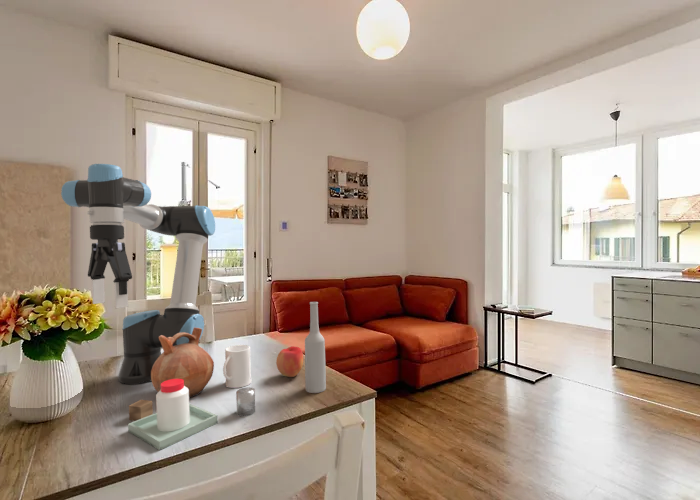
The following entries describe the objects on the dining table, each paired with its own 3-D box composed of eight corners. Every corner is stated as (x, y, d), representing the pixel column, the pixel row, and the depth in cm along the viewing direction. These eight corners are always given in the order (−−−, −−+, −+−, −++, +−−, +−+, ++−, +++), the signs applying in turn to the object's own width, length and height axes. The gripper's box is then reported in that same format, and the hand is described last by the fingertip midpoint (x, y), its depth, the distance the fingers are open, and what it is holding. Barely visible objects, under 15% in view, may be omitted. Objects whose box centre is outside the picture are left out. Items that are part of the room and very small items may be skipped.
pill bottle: (149, 429, 94) (148, 386, 94) (173, 415, 101) (172, 375, 101) (173, 433, 92) (172, 389, 91) (196, 419, 99) (195, 378, 99)
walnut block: (129, 420, 101) (128, 405, 101) (141, 413, 105) (140, 399, 104) (141, 422, 100) (140, 407, 99) (152, 415, 103) (152, 401, 103)
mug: (233, 393, 117) (232, 355, 117) (212, 389, 120) (211, 353, 120) (256, 380, 128) (256, 345, 127) (237, 377, 131) (236, 343, 131)
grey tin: (233, 413, 104) (232, 392, 103) (247, 406, 108) (246, 386, 107) (244, 417, 101) (244, 396, 100) (259, 410, 105) (258, 389, 105)
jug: (173, 410, 106) (171, 341, 105) (139, 397, 116) (137, 333, 115) (226, 388, 122) (224, 327, 121) (191, 378, 131) (190, 321, 131)
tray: (128, 431, 94) (128, 423, 94) (185, 408, 107) (184, 401, 107) (159, 450, 86) (159, 441, 85) (217, 422, 98) (217, 415, 98)
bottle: (317, 394, 115) (315, 304, 114) (301, 390, 118) (299, 303, 118) (330, 387, 120) (328, 301, 120) (314, 383, 124) (312, 300, 123)
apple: (290, 369, 138) (290, 342, 138) (309, 374, 132) (309, 346, 132) (271, 377, 130) (270, 349, 130) (290, 383, 125) (290, 353, 124)
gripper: (71, 226, 101) (74, 303, 102) (112, 221, 87) (115, 312, 87) (102, 226, 107) (105, 299, 108) (145, 222, 93) (148, 307, 93)
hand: (109, 305), depth 98 cm, fingers open, 13 cm apart
